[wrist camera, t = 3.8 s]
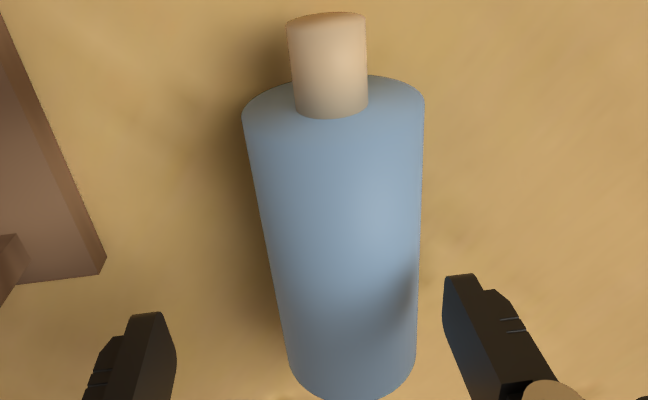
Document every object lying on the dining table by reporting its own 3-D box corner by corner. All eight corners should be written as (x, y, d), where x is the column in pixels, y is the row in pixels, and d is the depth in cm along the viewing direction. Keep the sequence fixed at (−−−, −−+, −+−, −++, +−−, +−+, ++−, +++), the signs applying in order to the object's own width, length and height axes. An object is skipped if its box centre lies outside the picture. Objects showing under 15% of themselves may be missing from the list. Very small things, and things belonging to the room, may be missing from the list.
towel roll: (204, 22, 13) (263, 66, 9) (363, -7, 14) (472, 20, 11) (277, 361, 21) (325, 463, 17) (375, 318, 22) (440, 402, 18)
